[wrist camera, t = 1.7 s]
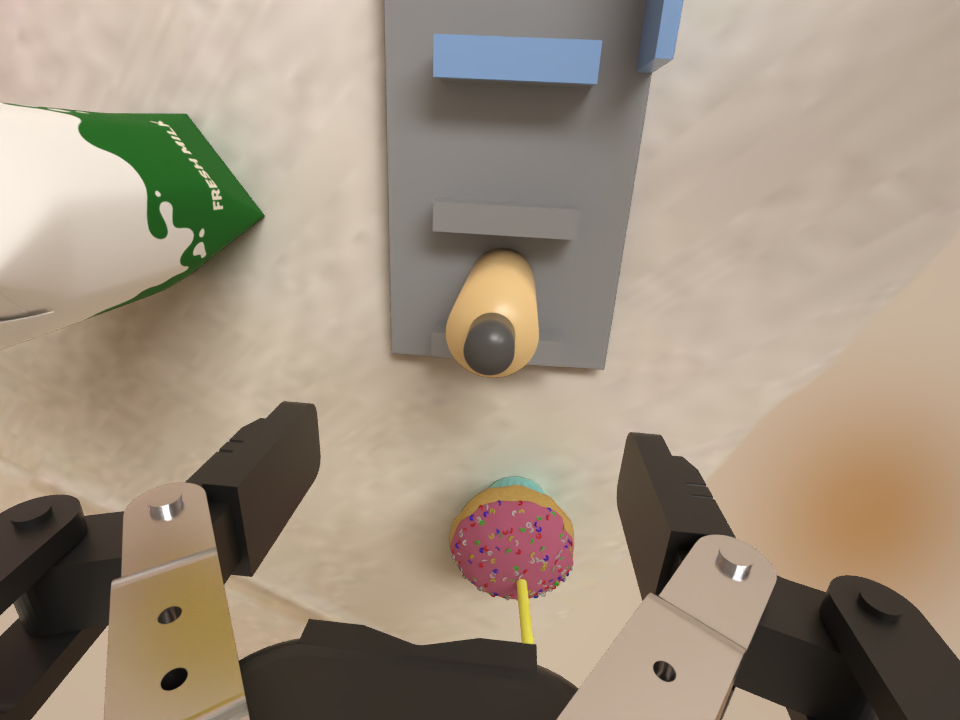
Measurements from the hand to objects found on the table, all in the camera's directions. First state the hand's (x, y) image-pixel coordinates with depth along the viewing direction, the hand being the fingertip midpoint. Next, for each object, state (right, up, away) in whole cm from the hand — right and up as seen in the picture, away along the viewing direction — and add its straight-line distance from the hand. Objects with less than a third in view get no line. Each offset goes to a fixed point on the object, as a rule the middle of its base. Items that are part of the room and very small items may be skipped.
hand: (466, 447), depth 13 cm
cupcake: (+3, -9, +25) cm, 27 cm away
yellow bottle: (+2, +7, +18) cm, 19 cm away
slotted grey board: (+2, +15, +16) cm, 21 cm away
